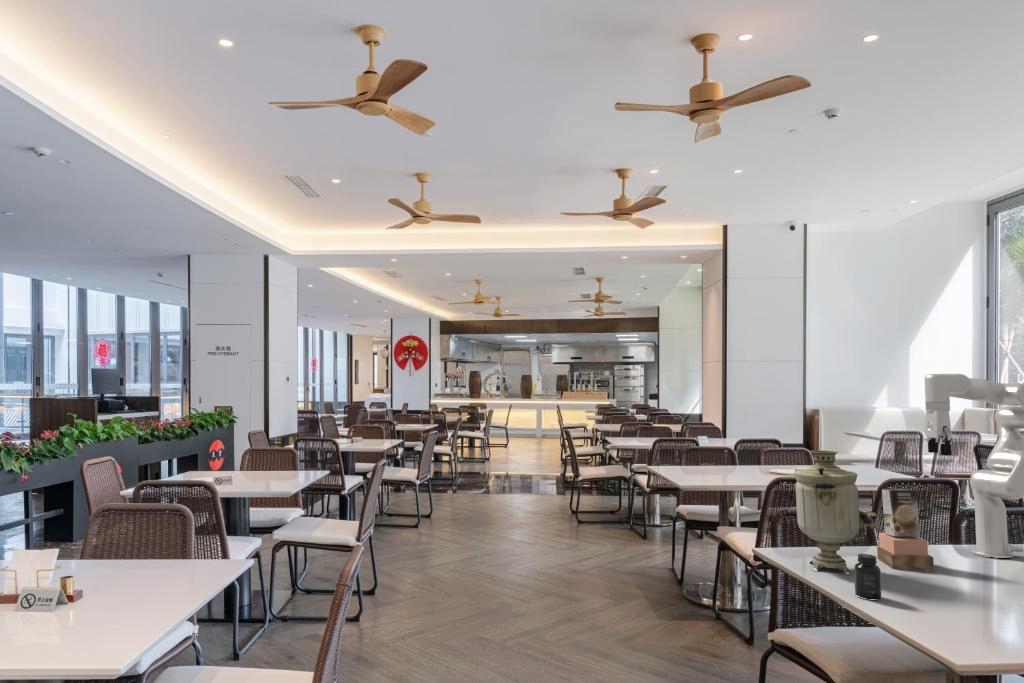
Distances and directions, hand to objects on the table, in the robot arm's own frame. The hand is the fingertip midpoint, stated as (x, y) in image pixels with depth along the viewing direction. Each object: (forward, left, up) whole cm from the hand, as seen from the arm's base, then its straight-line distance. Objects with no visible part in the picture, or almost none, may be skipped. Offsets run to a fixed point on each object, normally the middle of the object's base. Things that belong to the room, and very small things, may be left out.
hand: (939, 453), depth 234 cm
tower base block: (+17, +10, -39) cm, 43 cm away
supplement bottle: (+43, +51, -38) cm, 77 cm away
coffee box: (+17, +9, -29) cm, 34 cm away
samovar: (+43, +23, -38) cm, 62 cm away
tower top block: (+17, +10, -34) cm, 39 cm away
